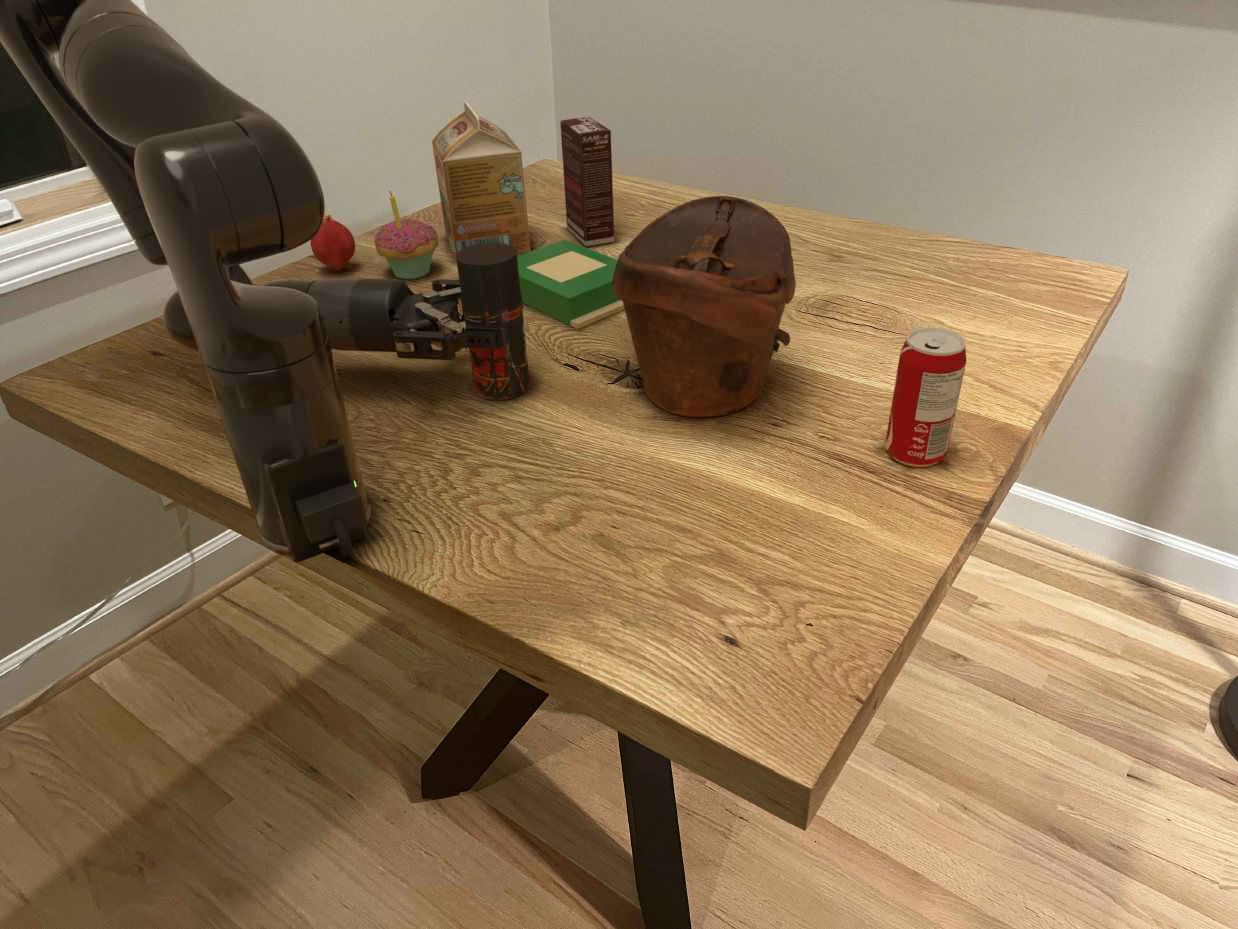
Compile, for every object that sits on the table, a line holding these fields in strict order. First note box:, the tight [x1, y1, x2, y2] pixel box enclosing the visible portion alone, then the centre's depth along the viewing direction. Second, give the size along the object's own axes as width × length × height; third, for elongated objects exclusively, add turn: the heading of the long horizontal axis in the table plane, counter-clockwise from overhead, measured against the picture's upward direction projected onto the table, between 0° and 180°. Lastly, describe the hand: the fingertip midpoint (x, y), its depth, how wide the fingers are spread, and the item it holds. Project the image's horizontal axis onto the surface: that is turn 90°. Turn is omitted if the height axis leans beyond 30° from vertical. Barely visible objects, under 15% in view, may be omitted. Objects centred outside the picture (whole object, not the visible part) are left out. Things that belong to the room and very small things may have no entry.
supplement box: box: [559, 116, 615, 247], centre depth 129 cm, size 9×5×16 cm, turn 22°
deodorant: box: [455, 242, 531, 402], centre depth 93 cm, size 6×6×15 cm
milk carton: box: [431, 100, 532, 260], centre depth 126 cm, size 11×10×19 cm
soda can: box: [884, 326, 967, 468], centre depth 81 cm, size 6×6×12 cm
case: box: [612, 195, 797, 418], centre depth 90 cm, size 18×20×18 cm
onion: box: [310, 213, 356, 272], centre depth 123 cm, size 6×6×8 cm
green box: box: [517, 239, 625, 330], centre depth 116 cm, size 18×12×4 cm
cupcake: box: [374, 190, 440, 280], centre depth 121 cm, size 9×8×12 cm
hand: (513, 319), depth 92 cm, fingers open, 7 cm apart
